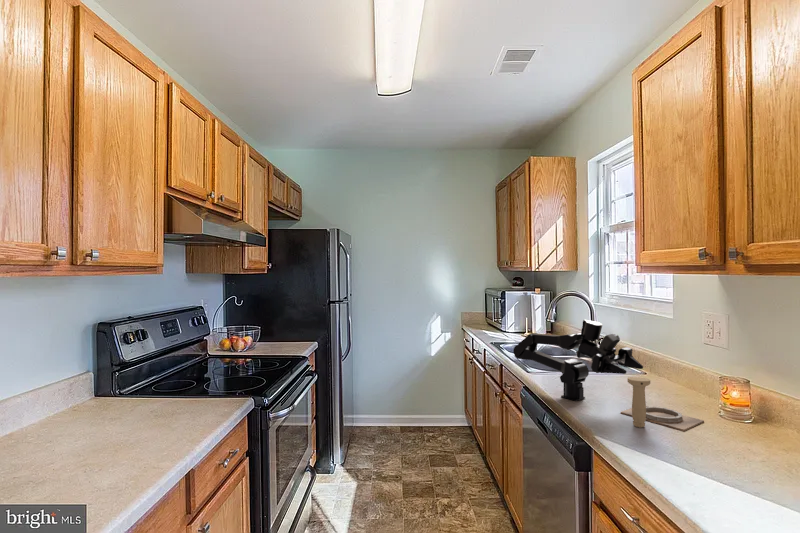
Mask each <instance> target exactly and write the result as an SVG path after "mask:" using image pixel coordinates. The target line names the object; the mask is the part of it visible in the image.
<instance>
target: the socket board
mask: <svg viewBox="0 0 800 533" xmlns="http://www.w3.org/2000/svg"><path fill="white" fill-rule="evenodd" d="M620 414H622V415H625V416H628V417H632V407H631V408H628V409H624V410H621V411H620ZM646 421H647V422H649V421H650V423H653V422H654V424H656V423H657V425H660V426H663V425H664V427H667V428H670V429H674V430H678V431H682V432H685V431H687V430H690V429H692V428H694V427H696V426H697V427H698V426H699V425H701V424H703V423H705V419H704V420H703V419H700V418H696V417H692V416H687V415H684V414H682V413H681V412H680V411H677V410H674V409H671V408H667V407H661V406H649V405H646V420H645V422H646Z"/></svg>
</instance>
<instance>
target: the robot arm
mask: <svg viewBox="0 0 800 533" xmlns="http://www.w3.org/2000/svg"><path fill="white" fill-rule="evenodd" d="M602 328H603V323H602V322H599V321H595V320H588V319H583V320H582V327H581V331H580V332H579V333H577V332H576V333H569V334H562V335H559V334H546V333H545V334H544V333H537V332H535V333H533V332H532V333H529V334H527V335H526V337H525V338H523V340H521V341H520V342H519V343H517V345H515V346H514V347H513V354H514V357H515V358H516V359H518V360H523V361H533V362H536V363H538V364H540V365H543V366H546V367H549V368H551V369H553V370H556V371H558V372H560V373H561V375H560V376H559V380H560V383H562V384H563V394H562V395H560V397H561V398H564V399H567V400H570V401H573V402H577V401H581V400H584V399H586V396H584V395H585V394H584V386H583V383H584V382H586V379H587V377H588V376H589V373H590V371H589V368H588V366H587V365H586V364H585V363H584V361H582V360H581V361H580V360H578V359H580V358H585V357H588V358H590V359H591V365H590V368H591V370H592V371H593V373H596V374H599V373H600V374H618V375H619V374H623V375H625V374H627V370H626V369H625V368H631V369H639V370H643V368H644V365H642V363H640V362H639V361H638V359H636V358H634V357H633V348H630V347H628V346H626V347H621V348H620V349H618V353H617V355H616V352H617V348H615V347H617V345H618V343H620V341H621V338H620V337H619V335H618V334H617V335H616V334H615V333H610V334H606V335H605V336H604V337H603V338H602V340H601V341H600V344H598V343H596V340H597V341H598V340H600V338H601V332H602ZM538 344H540V345H549V346H558V347H559V348H561V349H565V350H568V351H569V350H575V349H577V351H576V352H575V353H576V356H577V358H578V359H576V358H570V359H565V360H563V359H560V358H558V357H555V356H553V355H550V354H546V353H544V352H541V351H539V350H538V349H537V348H538ZM622 366H623V367H624V368H623V367H622Z"/></svg>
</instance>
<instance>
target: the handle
mask: <svg viewBox="0 0 800 533" xmlns="http://www.w3.org/2000/svg"><path fill="white" fill-rule="evenodd" d="M627 383H628V384H629V385H631V386H632V399H631V400H632V401H631V408H632V416H631V417H632V425H633V426H634V427H636V428H645V426H646V406H647V404H646V403H647V402H646V401H647V400H646V387H647V386H650V385H651V379H650V378H646V377H642V376H641V377H640V376H632V377H629V376H628V377H627Z"/></svg>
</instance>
